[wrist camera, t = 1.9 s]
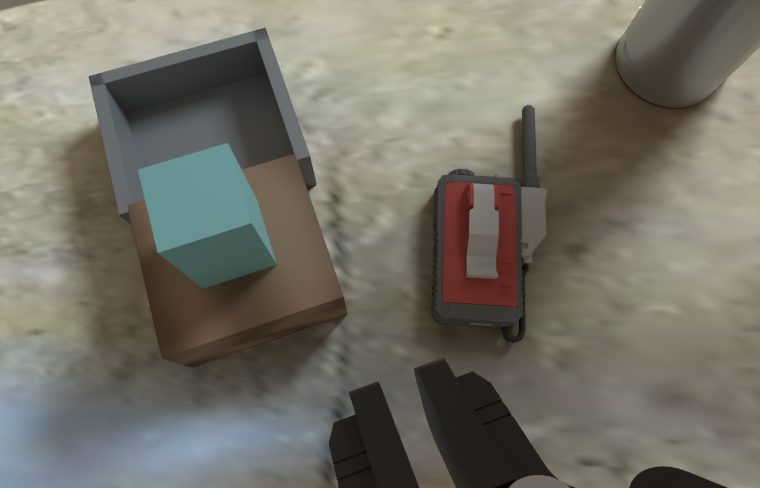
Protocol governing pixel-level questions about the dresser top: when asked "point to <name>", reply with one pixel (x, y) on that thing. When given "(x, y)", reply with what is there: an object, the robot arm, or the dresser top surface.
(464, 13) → the dresser top surface
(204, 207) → the block
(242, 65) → the box
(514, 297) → the walkie-talkie
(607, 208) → the dresser top surface
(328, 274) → the brown box
